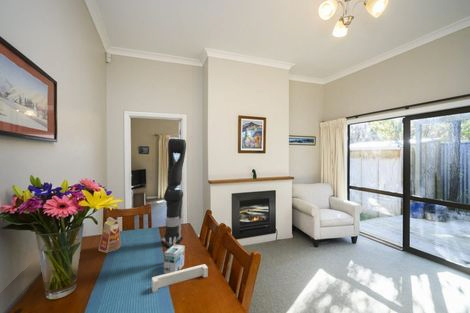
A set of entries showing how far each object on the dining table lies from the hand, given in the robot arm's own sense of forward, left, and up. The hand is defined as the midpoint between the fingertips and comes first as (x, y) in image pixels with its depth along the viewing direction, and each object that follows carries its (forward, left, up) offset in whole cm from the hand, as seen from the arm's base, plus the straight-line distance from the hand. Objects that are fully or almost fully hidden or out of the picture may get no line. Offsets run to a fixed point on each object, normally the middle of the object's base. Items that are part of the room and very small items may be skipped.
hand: (171, 254), depth 113 cm
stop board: (+20, 0, -4) cm, 20 cm away
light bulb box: (+8, 0, -5) cm, 9 cm away
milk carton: (-34, -30, -5) cm, 46 cm away
